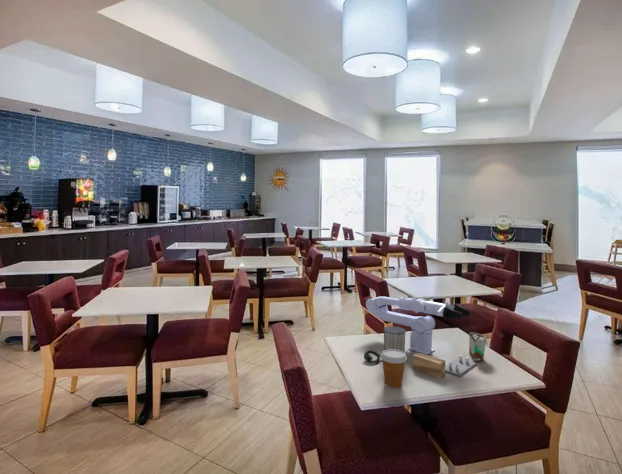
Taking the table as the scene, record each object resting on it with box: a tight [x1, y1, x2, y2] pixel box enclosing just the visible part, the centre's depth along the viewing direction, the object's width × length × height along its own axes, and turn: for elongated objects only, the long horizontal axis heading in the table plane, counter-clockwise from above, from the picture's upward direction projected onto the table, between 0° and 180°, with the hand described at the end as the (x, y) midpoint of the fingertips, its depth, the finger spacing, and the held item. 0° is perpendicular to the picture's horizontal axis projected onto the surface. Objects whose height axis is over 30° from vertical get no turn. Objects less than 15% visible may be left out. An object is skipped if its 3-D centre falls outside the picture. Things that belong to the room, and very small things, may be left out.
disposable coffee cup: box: [380, 349, 408, 389], centre depth 146 cm, size 10×10×12 cm
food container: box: [468, 331, 488, 363], centre depth 172 cm, size 12×6×10 cm, turn 168°
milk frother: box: [363, 325, 407, 364], centre depth 166 cm, size 14×16×15 cm
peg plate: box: [445, 354, 478, 378], centre depth 162 cm, size 8×17×3 cm, turn 136°
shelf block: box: [412, 352, 446, 379], centre depth 158 cm, size 4×12×6 cm, turn 45°
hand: (465, 314), depth 166 cm, fingers open, 7 cm apart
